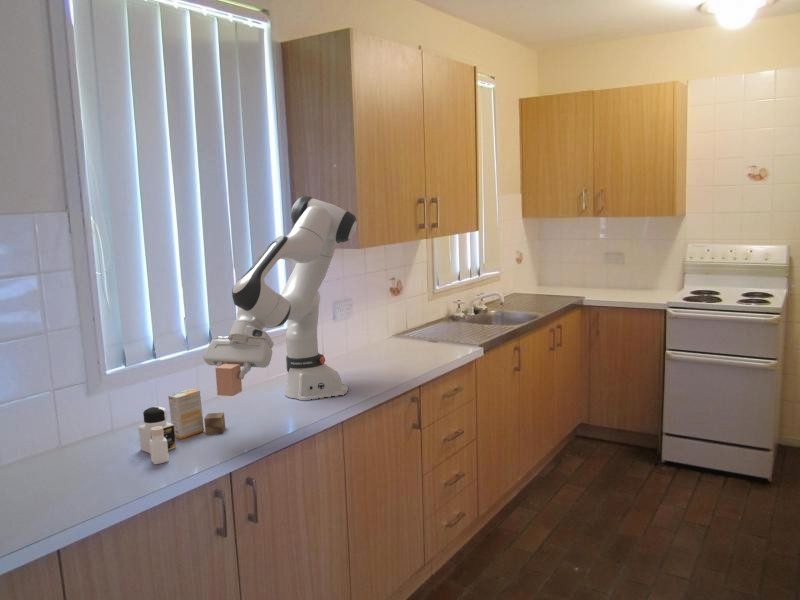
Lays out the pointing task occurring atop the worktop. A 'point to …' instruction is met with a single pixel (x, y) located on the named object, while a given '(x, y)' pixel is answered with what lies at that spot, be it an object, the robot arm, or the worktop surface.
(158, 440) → the pepper shaker
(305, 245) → the robot arm
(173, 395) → the supplement box
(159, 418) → the medicine bottle
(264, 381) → the worktop surface
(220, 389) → the terracotta block
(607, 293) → the worktop surface
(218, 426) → the walnut block
